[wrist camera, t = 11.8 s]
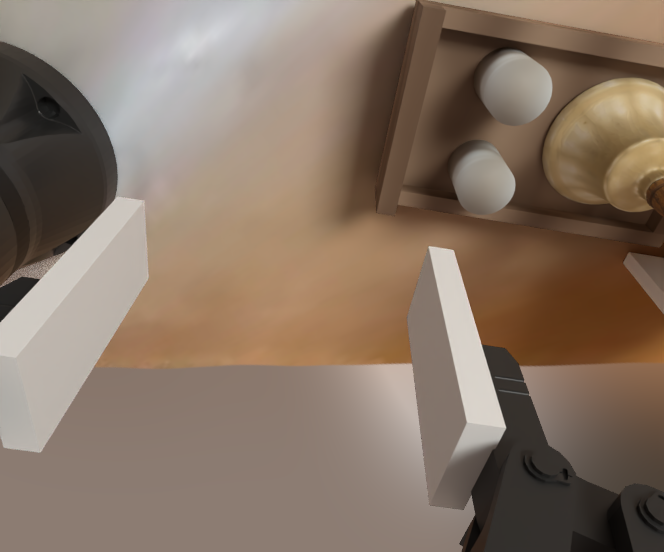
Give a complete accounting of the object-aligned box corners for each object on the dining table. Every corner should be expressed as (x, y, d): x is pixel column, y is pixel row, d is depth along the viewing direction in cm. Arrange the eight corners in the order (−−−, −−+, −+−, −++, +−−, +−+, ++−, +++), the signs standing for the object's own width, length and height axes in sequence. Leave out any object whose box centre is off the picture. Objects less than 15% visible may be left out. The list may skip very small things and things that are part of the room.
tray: (375, 187, 36) (376, 220, 32) (416, -2, 30) (425, 8, 25) (645, 232, 37) (680, 269, 33) (744, 58, 31) (804, 77, 26)
